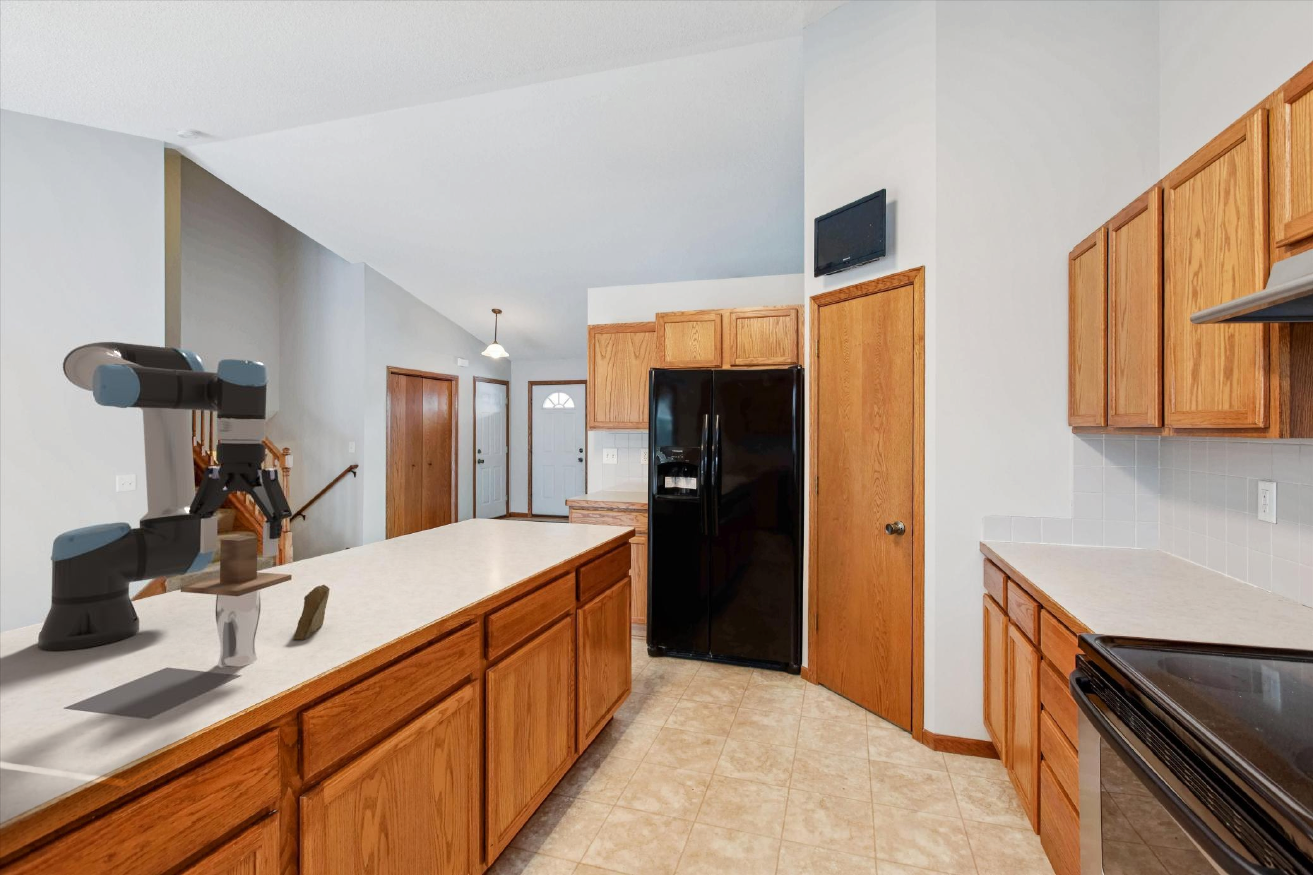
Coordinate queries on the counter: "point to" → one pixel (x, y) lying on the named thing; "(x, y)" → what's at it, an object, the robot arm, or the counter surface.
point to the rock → (312, 612)
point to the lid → (237, 571)
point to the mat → (154, 693)
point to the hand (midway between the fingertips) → (239, 554)
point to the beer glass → (237, 628)
